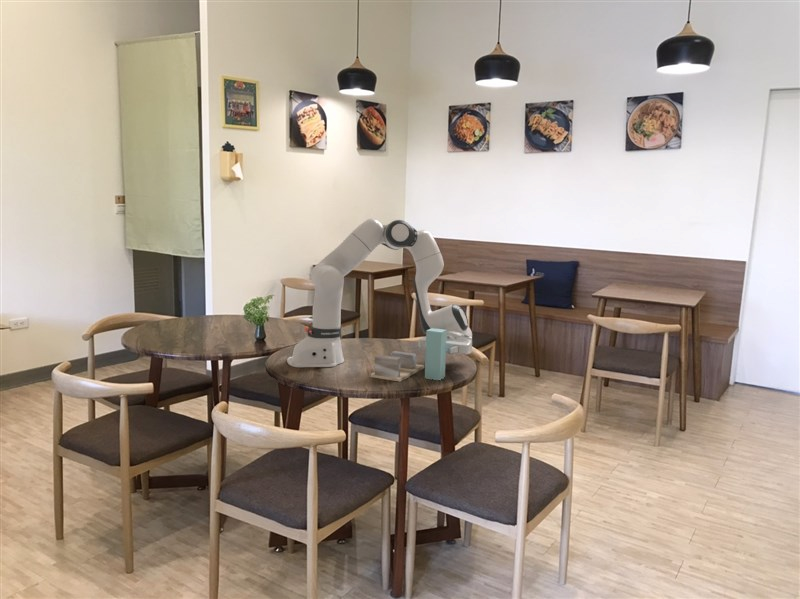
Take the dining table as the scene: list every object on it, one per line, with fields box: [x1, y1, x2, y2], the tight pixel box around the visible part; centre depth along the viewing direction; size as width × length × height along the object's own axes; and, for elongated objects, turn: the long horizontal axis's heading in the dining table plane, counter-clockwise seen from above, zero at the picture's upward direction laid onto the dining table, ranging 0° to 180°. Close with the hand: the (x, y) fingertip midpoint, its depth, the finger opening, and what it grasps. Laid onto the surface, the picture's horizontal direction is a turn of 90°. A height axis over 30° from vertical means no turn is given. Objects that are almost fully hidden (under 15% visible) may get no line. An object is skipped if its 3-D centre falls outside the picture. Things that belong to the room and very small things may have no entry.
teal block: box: [424, 328, 447, 381], centre depth 235 cm, size 5×6×18 cm
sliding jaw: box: [390, 350, 417, 369], centre depth 246 cm, size 3×9×5 cm, turn 65°
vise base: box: [370, 354, 425, 383], centre depth 242 cm, size 22×12×8 cm, turn 155°
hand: (437, 349), depth 237 cm, fingers open, 8 cm apart
